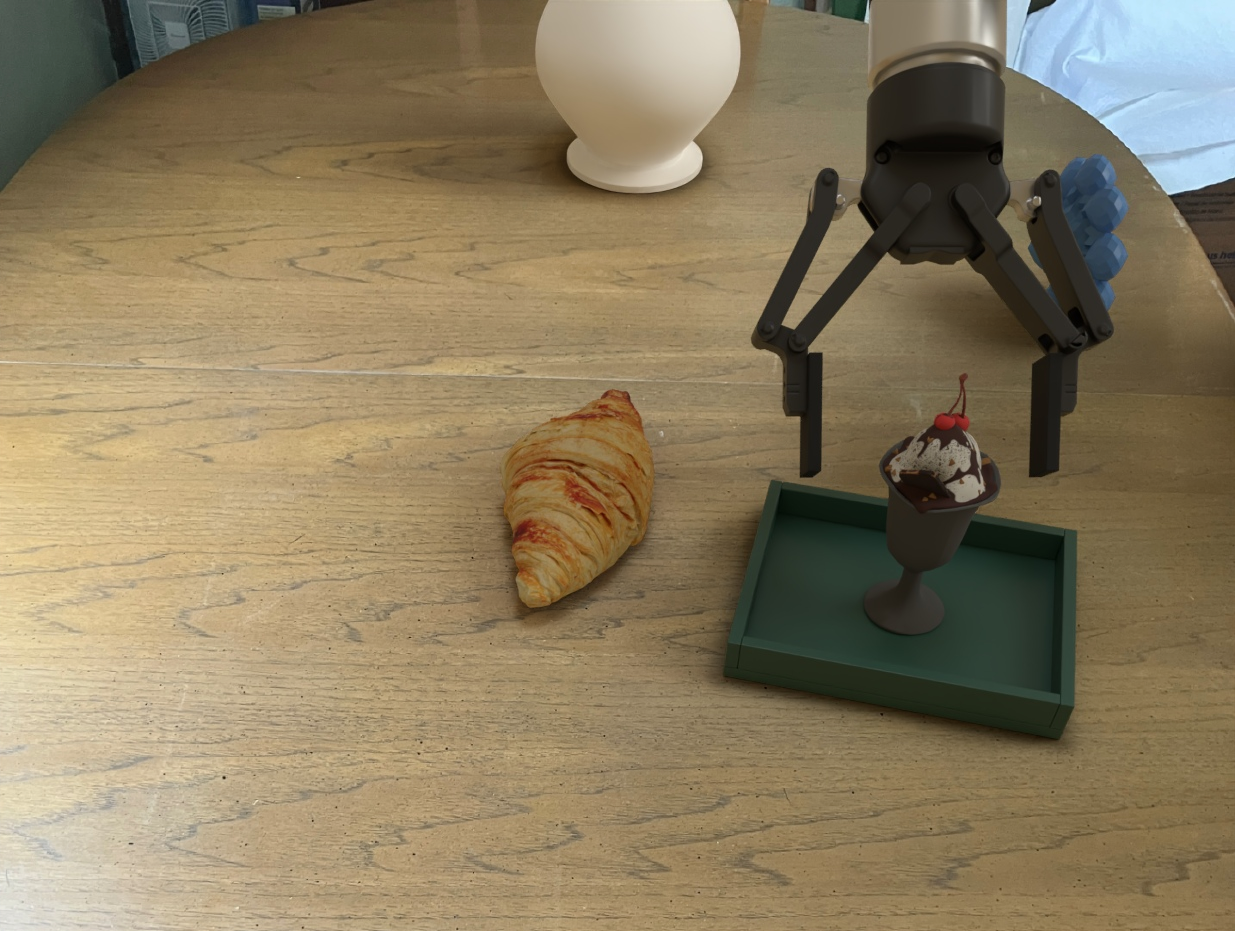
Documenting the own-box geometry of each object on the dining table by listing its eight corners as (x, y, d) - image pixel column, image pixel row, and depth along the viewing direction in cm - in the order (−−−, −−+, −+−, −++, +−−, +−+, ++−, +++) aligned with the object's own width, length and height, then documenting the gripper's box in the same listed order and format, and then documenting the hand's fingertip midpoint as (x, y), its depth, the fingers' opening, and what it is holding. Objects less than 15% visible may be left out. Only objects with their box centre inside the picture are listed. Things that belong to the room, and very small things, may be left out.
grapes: (983, 281, 102) (1024, 130, 92) (1062, 277, 102) (1109, 127, 93) (1030, 360, 95) (1079, 205, 85) (1114, 355, 95) (1172, 201, 86)
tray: (1064, 563, 80) (1077, 530, 78) (1059, 739, 70) (1075, 706, 68) (765, 513, 82) (770, 478, 80) (722, 675, 73) (726, 642, 71)
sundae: (925, 561, 78) (985, 349, 67) (977, 632, 74) (1049, 419, 63) (831, 582, 77) (875, 369, 65) (878, 655, 73) (934, 442, 61)
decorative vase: (499, 155, 114) (481, -178, 95) (639, 102, 122) (649, -216, 102) (628, 228, 106) (638, -119, 87) (770, 166, 114) (808, -165, 94)
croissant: (578, 670, 78) (639, 599, 71) (436, 591, 75) (487, 510, 69) (651, 464, 90) (708, 389, 84) (532, 390, 88) (582, 307, 82)
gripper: (1125, 117, 73) (1112, 482, 75) (705, 113, 72) (705, 483, 74) (1188, 56, 65) (1171, 464, 68) (720, 51, 65) (719, 464, 67)
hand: (927, 475), depth 71 cm, fingers open, 13 cm apart
